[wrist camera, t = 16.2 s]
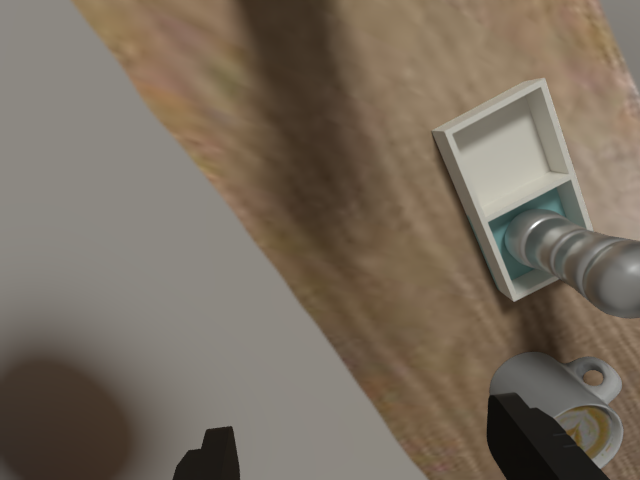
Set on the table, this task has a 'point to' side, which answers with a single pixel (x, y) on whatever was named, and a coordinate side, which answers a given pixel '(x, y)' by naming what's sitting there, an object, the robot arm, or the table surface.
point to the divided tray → (511, 175)
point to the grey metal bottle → (579, 259)
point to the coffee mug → (568, 398)
